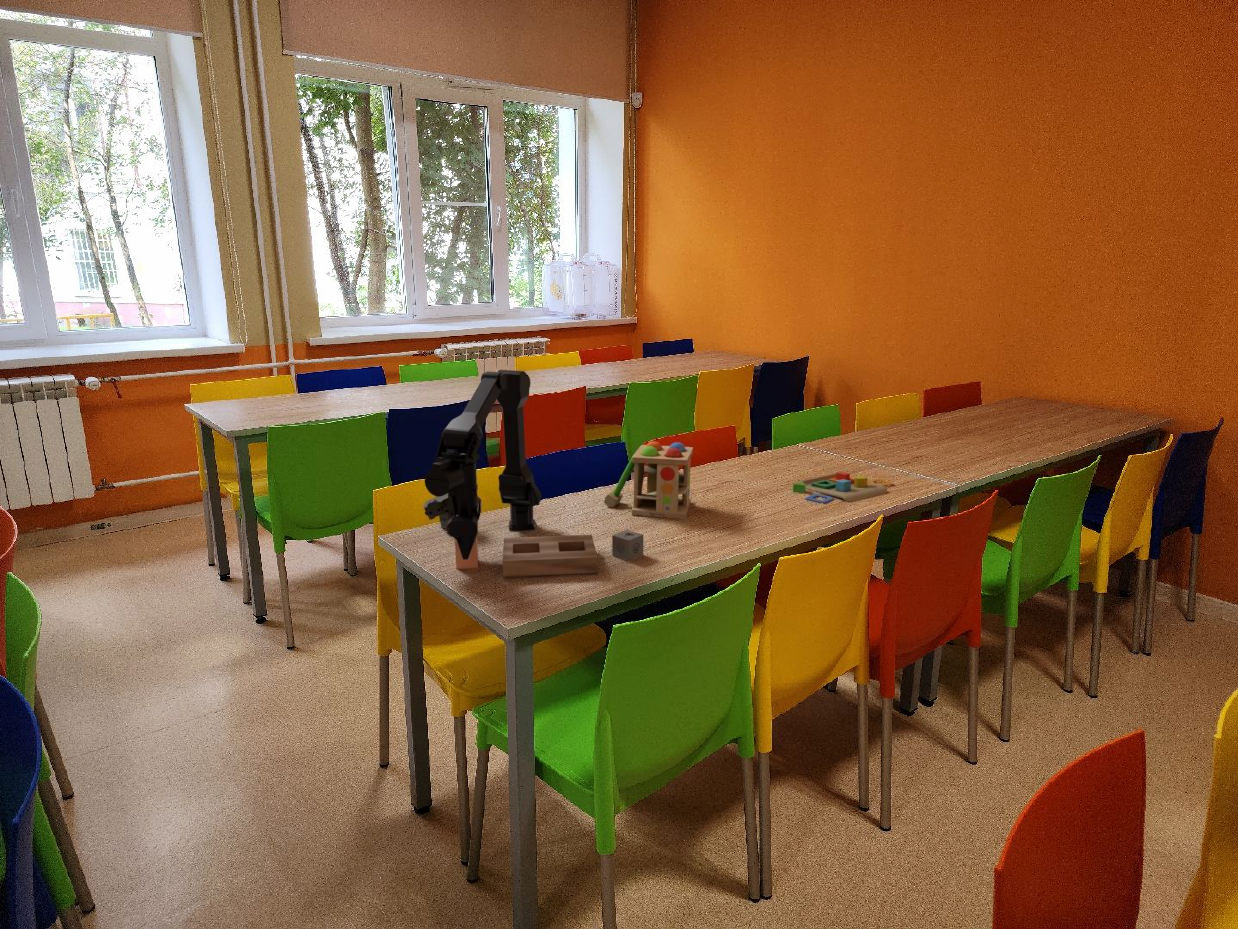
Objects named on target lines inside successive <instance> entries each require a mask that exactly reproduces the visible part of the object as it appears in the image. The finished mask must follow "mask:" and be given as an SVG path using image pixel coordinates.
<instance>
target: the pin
mask: <svg viewBox="0 0 1238 929" xmlns="http://www.w3.org/2000/svg"><path fill="white" fill-rule="evenodd" d="M478 546H479V545H478V535H477V536H476V539H475V541H474V544H473V547H472V549H471V552H470V555H469V558H468V559H467V560H463V558H462V555H461V552H460V549H459V546H458V543H457V540H456V539H455V538H454V548H455V549H454V550H455V552H454V554H455V565H456V566H455V567H456V568H455V569H457V570H458V569H459V570H464V569H478V566H479V565H478V564H479V547H478Z"/></svg>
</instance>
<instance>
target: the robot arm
mask: <svg viewBox="0 0 1238 929" xmlns="http://www.w3.org/2000/svg"><path fill="white" fill-rule="evenodd" d="M526 372H527V371H525V370H511V369H499V370H498V371H485V372H483V373H482V374H481V376H480V377H481V378H480V382H479V383H478V385H477V387H476V389H475V391H474V393H473V394H472V396H471V398H470V400H469V401H468V403H467V405H466V406H465V408H464V410H463V412H462V413H461V414H460V415H459V416H457V417H455V418H453V419H451V421H450V422H449V423H448V424H447V426H446V427H444V430H443V432H442V434H441V436H440V439H439V443H438V446H437V450H436V451H435V452H436V453H435V456H434V461H436V462H433V463H432V465H431V466H432V469H430V470H429V471H428V472H427V473H426V476H425V478H424V486H425V489H426V490H427V492H428V493H429V494H430V495H432V496H434V497H433V498H430V499H428V500H426V501H424V504H423V509H424V515H426V516H427V517H428V520H434V519H436V518H437V517H439V516H440V515H442V514H445V513H447V512H449V515H454V516H452V517H451V518H450V519H449V520H448V523H447V529H446V533H447V534H446V535H448V536H450V537H452V538H454V540H455V539H456V540H457V543H458V546H459V549H460V552H461V555H462V558H463V560H467V559H468V558H469V555H470V552H471V549H472V547H473V544H474V541H475V539H476V536H477V537H478V532H479V520H480V517H481V514H482V499H481V498H480V497H479V495H478V490H479V488H478V486H479V485H478V478H477V460H479V459H480V458H481V455H479V453H477V452H478V450H479V449H480V446H481V443H482V440H483V438H484V435H483V429H482V428H483V425H484V423H485V421H486V419H487V418H488V416H489V414H490V412H491V410H492V409H493V407H494V405H495V403H496V402H498V403H499V406H500V407H501V408H502V422H503V437H504V438H503V439H504V440H503V441H504V456H505V467H504V469H503V471H502V472H501V473H500V474H498V492H499V495H500V496H499V497H500V500H501V503H502V504H507V505H509V512H510V513H509V514H510V515H509V516H510V520H508V521H509V522H508V530H509V531H520V530H521V531H525V530H526V531H527V530H535V529H536V520H535V519H534V507H535V506H539V505H540V503H541V501H542V492H541V491H540V490H539V488H538V486H537V485H536V484H535V479H534V473H533V472H532V471H531V469H530V467H529V466H528V464H527V460H526V458H527V457H526V456H527V454H526V439H525V438H526V436H525V421H524V419H525V417H524V405H525V403H526V402H527V400H528V399H529V396H530V388H531V378H530V376H529V374H527V373H526ZM437 461H438V462H437ZM436 496H437V497H436Z"/></svg>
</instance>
